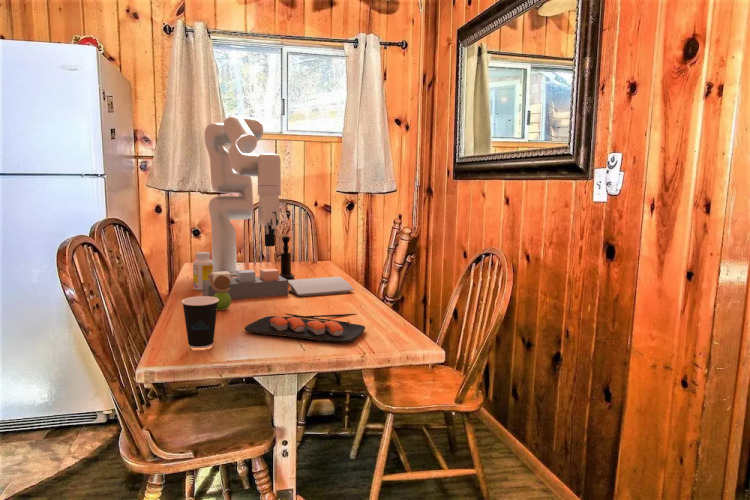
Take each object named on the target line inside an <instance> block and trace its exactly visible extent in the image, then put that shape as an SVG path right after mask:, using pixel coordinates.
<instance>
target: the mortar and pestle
mask: <svg viewBox="0 0 750 500" xmlns="http://www.w3.org/2000/svg"><path fill="white" fill-rule="evenodd" d="M290 240H291V238H290V235H289V234H283V235H282V237H281V241H282V242H283V246H282V249H283V251H282V252H280V272H279V276H281V277H283V278H285V279H287V280H295V275H294V274H293V273H292V252H289V250H290V246H289V242H290Z"/></svg>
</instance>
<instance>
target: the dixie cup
mask: <svg viewBox="0 0 750 500" xmlns="http://www.w3.org/2000/svg"><path fill="white" fill-rule="evenodd" d="M218 301H219V299H218V298H216V297H210V296H203V295H200V296H198V295H197V296H192V297H191V296H190V297H186V298H184V299H182V300H181V304H182V307H183V313H184V321H185V322H184V323H185V330H186V336H187V344H188V346H189V348H190V347H192V348H207V347H210V346H212V347H213V344H214V342H215V333H216V332H215V330H216V322H217V321H216V320H217V311H218V309H217V302H218Z"/></svg>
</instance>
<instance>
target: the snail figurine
mask: <svg viewBox="0 0 750 500" xmlns="http://www.w3.org/2000/svg"><path fill="white" fill-rule="evenodd" d="M208 272H210V270H208ZM208 278H209V281H210V285H211V287H212V289H213V290H214V291H217V292H218V293H216V294H215V295H214V296H213V297H216V298H218V299H219V301H218V302H217V311H224V310H227V309H228V308H229V307H230V306H231V303H232V300H231V297H230V295H229V294H228V293H226V292H228V291H229V290H230V288H228V287H229V286H230V279H229V278H228V277H227V276H225V275H220V276H218V277H216V279H215V281H213V274H208Z"/></svg>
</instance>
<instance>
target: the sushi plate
mask: <svg viewBox="0 0 750 500" xmlns="http://www.w3.org/2000/svg"><path fill="white" fill-rule="evenodd" d="M284 315H287V316H278V315H277V316H275V315H268V316H264V317H262V318H260V319H257V320H255V321H254V322H250V324H247V325H246V326H245V327H244V331H245V332H250V333H257V334H265V335H271V336H272V335H273V336H274V335H275V336H281V337H282V336H283V337H290V338H298V339H300V338H301V339H309V340H317V339H318V341H326V340H327V342H339V343H340V342H341V343H347V342H353V341H354V340H356V339H357V338H358V337H360V336H361V335H362V334H363V333H364V331H365V330H366V326H365V325H362V324H356V323H350V322H349V321H341V320H335V319H326V317H327V318H328V317H329V318H330V317H331V318H333V317H335V318H337V317H349V316H354V315H357V313H342V314H341V313H340V314H324V315H322V314H321V315H299V314H293V313H284Z"/></svg>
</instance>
